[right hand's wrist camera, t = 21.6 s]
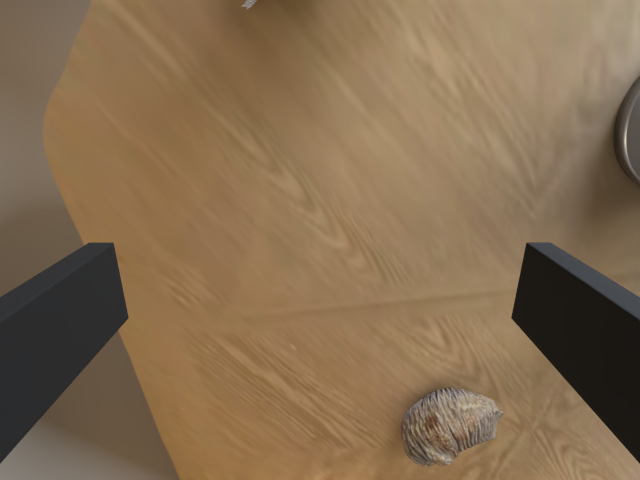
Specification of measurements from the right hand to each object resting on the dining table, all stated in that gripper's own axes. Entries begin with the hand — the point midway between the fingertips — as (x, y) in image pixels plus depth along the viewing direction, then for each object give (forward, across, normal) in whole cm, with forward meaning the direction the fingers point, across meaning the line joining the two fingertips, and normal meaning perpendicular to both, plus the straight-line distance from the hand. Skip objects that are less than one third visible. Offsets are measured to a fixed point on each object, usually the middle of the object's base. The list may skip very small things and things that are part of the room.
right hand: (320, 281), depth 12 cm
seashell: (+30, +17, -35) cm, 49 cm away
